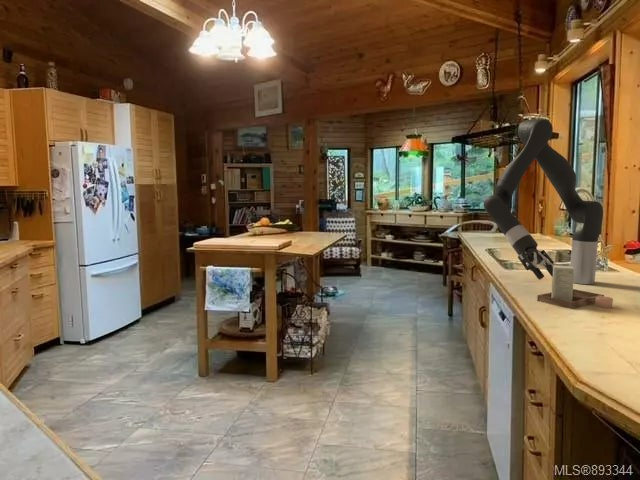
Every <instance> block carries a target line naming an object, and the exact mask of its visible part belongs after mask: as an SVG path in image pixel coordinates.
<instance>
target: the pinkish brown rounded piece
mask: <svg viewBox="0 0 640 480" xmlns="http://www.w3.org/2000/svg"><path fill="white" fill-rule="evenodd" d="M613 301H614V298H612V297H609V296H605V295H604V296H596V297H595V303H594V306H595V307H597V308H601V309H612V308H613Z"/></svg>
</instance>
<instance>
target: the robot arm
mask: <svg viewBox="0 0 640 480" xmlns="http://www.w3.org/2000/svg"><path fill="white" fill-rule="evenodd" d="M553 128H554V127H553V124H552V122H551V121H550V120H548V119H544V118H532V119H525V120H523V121H522V122H521V123H519V125H518V129H517V135H518V138H519V140H520V141H521V143H522V144H523V145H524V147H523V148H522V150H521V152H519V154H517V156H515V158H514V159H512V160H511V161H510V163H508V165H506V167H505V169H503V171H502V173H501V175H500V177H499V179H498V180H497V183H496V185H495V189H496V190H495V194H492V195H491V194H490V195H489V196H486V198H485V199H484V201H483V209H484V211H486V213H487V214H488V215H489V216H490V218H491V219H492V220H493V221H494V222H495V224H496V225H497V226H498V228H499V230H500V232H502V234H503V235H504V237H505V238H506V239H507V241H508V243H509V244H510V246H511V247H512V248H513V250H514V251H515V253H516V254H517V255H518V256H517V258H518V260H519V261H520V263H521V265H522V266H523V267H524V269H525V270H526V271H530V272H532V273H533V274H534V275H535V277H536V278H537V280H539V281H540V280H543V279H544V278H545V274H544V273H543V272H542V271H541V270H540V268H539V267H538V266H540V267H543V268H545V270H546V271H547V272H548V273H549V275H550V277H551V278H553V265H554V263H555V261H554V260H553V259H552V258H551V256H550V255H549V253H547V252H546V251H545V250H544V249H542V250H541V251H539V250H538V249H537V248H538V246H539V244H538V242H537V241H536V240H535V238H534V237H533V236H532V235H531V233H530V232H529V231H528V230H527V228H525V226H524V225H523V224H522V223H521V222H520V221H519V219H518V218H517V217H516V216H515V215H514V214H513V212H511V210H510V209H509V208H510V205H511V201H512V199H513V195H514V193H515V191H516V189H517V187H518V186H519V184H520V182H521V180H522V178H523V177H524V175H525V174H526V172H527V171H528V169H529V167H530V166H531V164H532V163H533V162H534V160H535V161H536V162H537V164H538V165H539V167H540V168H541V170H542V171H543V173H544V174H545V176H546V178H547V180H548V181H549V182H550V185H552V187H553V188H554V190H555V191H556V193H557V195H558V196H559V197H560V199H561V201H562V202H563V205H564V207H565V209H566V212H567V213H568V215H569V217H570V219H572V221H573V222H575V223H579V224H582V228H581V229H580V230H579V231H575V232H573V233H572V237H571V238H572V239H571V250H570V251H571V253H570V263H569V264H570V265H569V266H573V268H574V280H573V284H580V285H593V284H595V283H596V282H595V280H596V272H597V258H598V257H597V256H598V254H597V253H598V245H599V237H600V235H601V232H602V227H603V226H602V225H603V219H604V207H603V205H602V203H600V202H599V201H595V200H584V199H582V197H581V196H580V195H579V194H578V192H577V190H576V189H577V188H576V186H577V185H576V184H577V174H576V172H575V170H574V169H573V167H572V165H571V164H570V162H569V161H568V159H567V158H566V157H565V156H563V155H562V154H561V153H559V152H558V151H557V150H555V149H554V148H553V147H552V146H550V144H549V143H548V141H550V139H551V138H552V135H553V132H554V129H553Z"/></svg>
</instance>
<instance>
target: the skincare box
mask: <svg viewBox="0 0 640 480" xmlns="http://www.w3.org/2000/svg"><path fill="white" fill-rule="evenodd" d="M552 266H553V277H551V278H552V282H551V283H552V284H551V292H552V295H551V298H556V299H560V300H565V301H570V302H572V295H573V289H574V283H573V280H574V268H573V266H570V265H554V264H552Z"/></svg>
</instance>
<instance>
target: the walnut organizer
mask: <svg viewBox="0 0 640 480" xmlns="http://www.w3.org/2000/svg"><path fill="white" fill-rule="evenodd" d="M551 295H552V291H551V292H546V293H541V294H538V295H537V297H536V300H537V302H540V301H541V302H540V303H544V302H545V304H549V305H554V306H558V307H562V308H567V309H572V310H573V309H575V308H581V307H584V306H588V305H591V304H595V297H596V296H605V295H604V294H600V293H597V292H596V293H595V292H590V291H584V290H580V289H574V288H573V295H572V302H570V301H565V300H560V299H556V298H551Z"/></svg>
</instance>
